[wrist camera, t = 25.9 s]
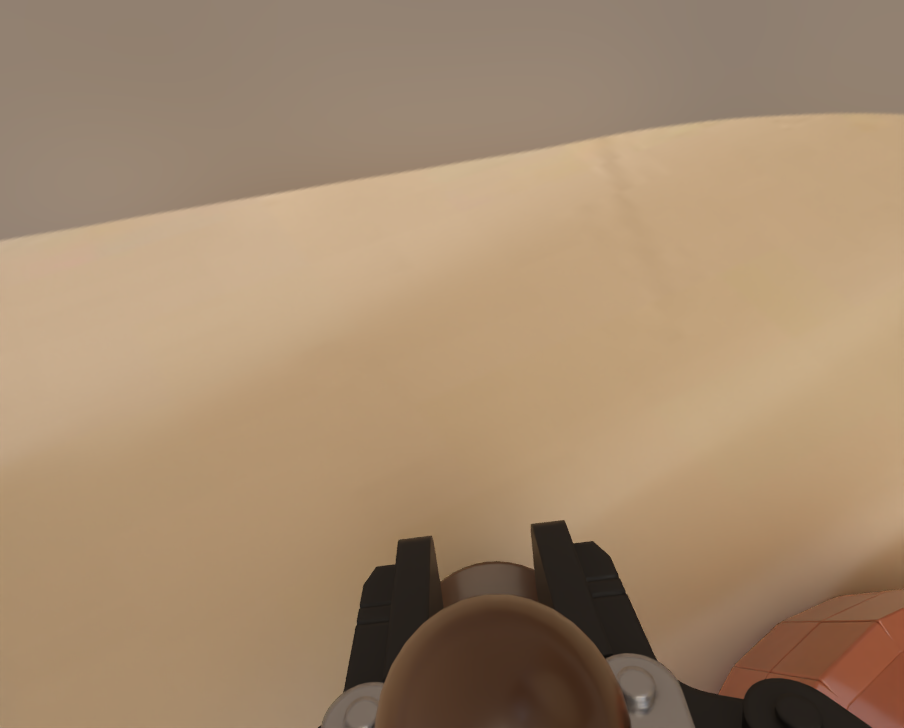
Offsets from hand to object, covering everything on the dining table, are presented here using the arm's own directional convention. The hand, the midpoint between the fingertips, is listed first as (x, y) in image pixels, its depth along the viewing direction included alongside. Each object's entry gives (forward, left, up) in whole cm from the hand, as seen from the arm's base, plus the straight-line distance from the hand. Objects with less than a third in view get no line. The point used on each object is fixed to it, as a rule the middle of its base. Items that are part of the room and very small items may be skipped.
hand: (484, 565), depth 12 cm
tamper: (+2, -1, -8) cm, 8 cm away
